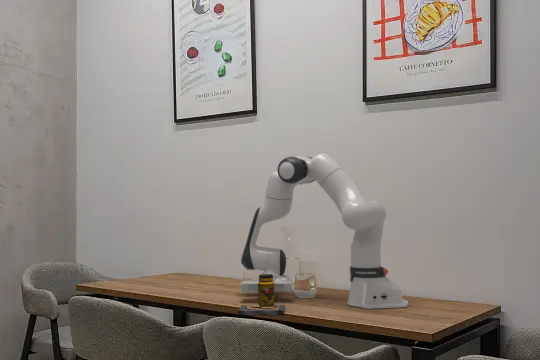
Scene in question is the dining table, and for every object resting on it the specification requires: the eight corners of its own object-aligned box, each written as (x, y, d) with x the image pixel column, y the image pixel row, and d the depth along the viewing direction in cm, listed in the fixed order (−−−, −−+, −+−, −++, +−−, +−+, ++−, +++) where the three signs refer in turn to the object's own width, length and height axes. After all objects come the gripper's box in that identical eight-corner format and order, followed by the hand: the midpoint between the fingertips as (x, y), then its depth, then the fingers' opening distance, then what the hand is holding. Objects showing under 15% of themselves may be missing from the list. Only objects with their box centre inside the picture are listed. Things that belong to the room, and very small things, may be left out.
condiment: (270, 309, 227) (269, 276, 228) (249, 307, 231) (249, 275, 231) (279, 305, 234) (278, 273, 234) (259, 304, 238) (258, 272, 238)
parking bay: (285, 309, 226) (285, 305, 226) (283, 315, 216) (283, 310, 216) (241, 309, 228) (241, 305, 228) (238, 315, 218) (238, 310, 218)
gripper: (242, 276, 250) (237, 281, 236) (293, 275, 248) (291, 280, 234) (242, 291, 250) (237, 297, 236) (293, 291, 248) (291, 297, 234)
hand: (265, 289), depth 235 cm, fingers closed
